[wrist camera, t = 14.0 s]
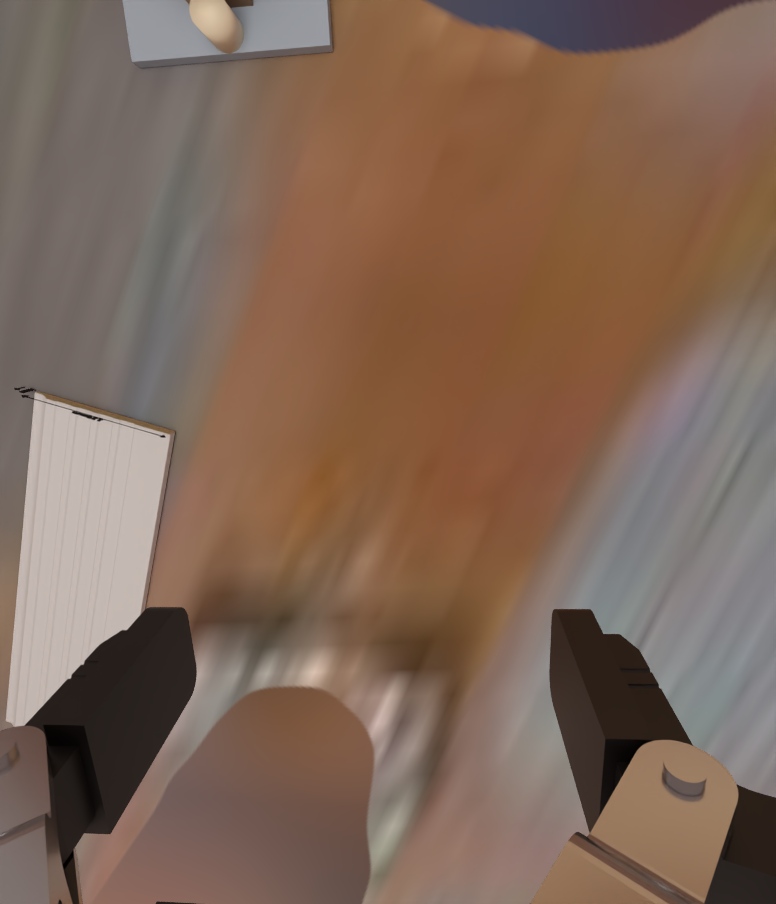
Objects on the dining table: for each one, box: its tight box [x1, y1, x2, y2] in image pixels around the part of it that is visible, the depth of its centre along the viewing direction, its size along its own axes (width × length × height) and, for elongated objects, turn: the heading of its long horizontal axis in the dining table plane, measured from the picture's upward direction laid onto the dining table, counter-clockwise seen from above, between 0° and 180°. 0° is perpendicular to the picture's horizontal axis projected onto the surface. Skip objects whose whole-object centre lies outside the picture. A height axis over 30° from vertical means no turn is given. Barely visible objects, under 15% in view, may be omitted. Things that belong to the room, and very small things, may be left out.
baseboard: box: [6, 387, 175, 727], centre depth 45 cm, size 31×3×12 cm
